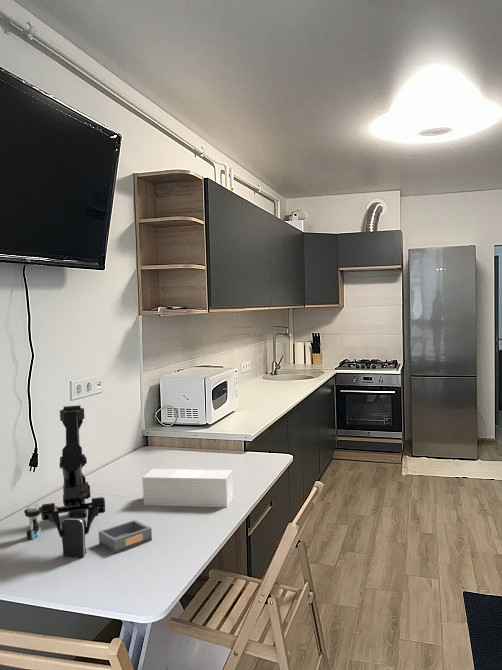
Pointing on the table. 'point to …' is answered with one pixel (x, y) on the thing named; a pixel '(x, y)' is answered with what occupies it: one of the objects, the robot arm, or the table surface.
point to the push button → (33, 521)
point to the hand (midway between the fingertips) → (74, 535)
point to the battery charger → (74, 536)
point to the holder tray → (125, 536)
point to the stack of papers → (188, 487)
